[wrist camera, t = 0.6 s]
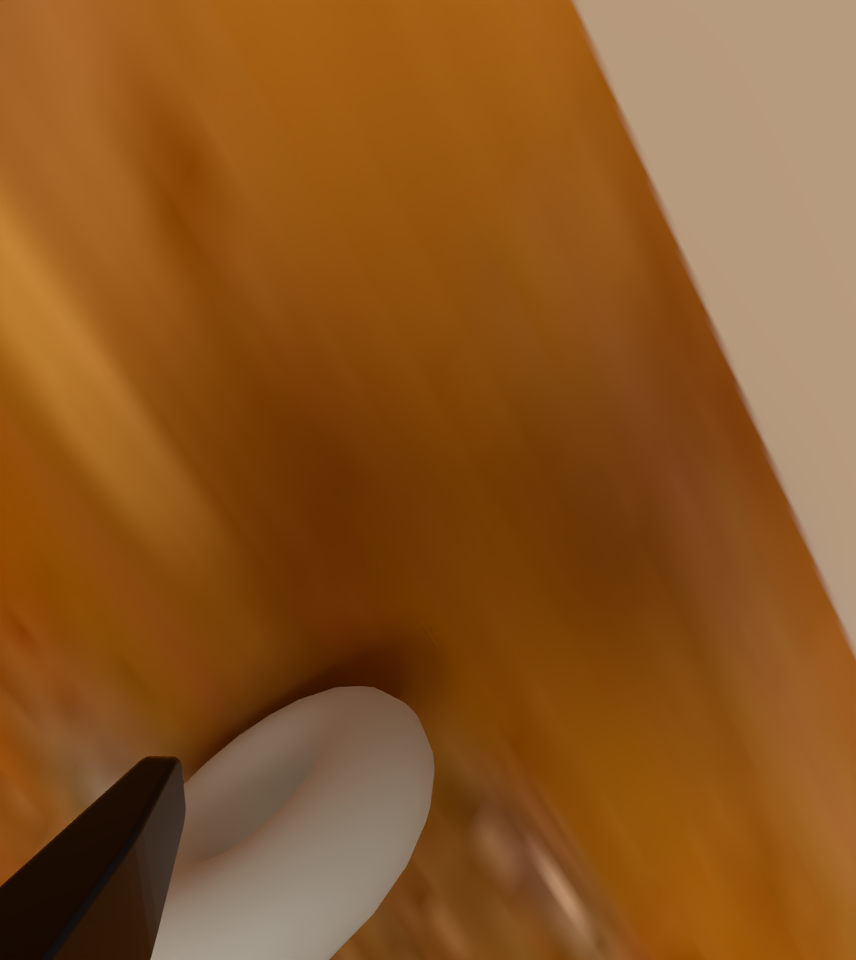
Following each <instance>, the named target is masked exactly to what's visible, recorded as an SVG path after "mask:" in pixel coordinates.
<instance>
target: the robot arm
mask: <svg viewBox="0 0 856 960" xmlns="http://www.w3.org/2000/svg"><path fill="white" fill-rule="evenodd" d="M185 814H186V803H185V793H184V784H183V774H182V766H181V763H180V760H179V759H178V758H176V757H166V756H148V757H145V758H144V759H142V760H140V761H139V762H138V763H137V764H136V765H135V766H134V767H133V768H131V769H130V770H129V771H128V772H127V773H126V774H125V775H124V776H123V777H121V778H120V779H119V780H118V781H117V782H116V783H115V784H114V785H113V786H112V787H110V788H109V789H108V790H107V791H106V792H105V793H104V794H103V795H102V796H100V797H99V798H98V799H97V800H96V801H95V802H94V803H93V804H92V805H90V806H89V807H88V808H87V809H86V810H85V811H84V812H83V813H82V814H80V815H79V816H78V817H77V818H76V819H75V820H74V821H73V822H72V823H70V824H69V825H68V826H67V827H66V828H65V829H64V830H63V831H62V832H61V833H59V834H58V835H57V836H56V837H55V838H54V839H53V840H52V841H51V842H49V843H48V844H47V845H46V846H45V847H44V848H43V849H42V850H41V851H39V852H38V853H37V854H36V855H35V856H34V857H33V858H32V859H31V860H29V861H28V862H27V863H26V864H25V865H24V866H23V867H22V868H21V869H19V870H18V871H17V872H16V873H15V874H14V875H13V876H12V877H11V878H10V879H8V880H7V881H6V882H5V883H4V884H3V885H2V886H1V887H0V960H151V957H152V953H153V949H154V945H155V941H156V937H157V934H158V930H159V925H160V921H161V917H162V913H163V909H164V905H165V901H166V897H167V893H168V889H169V884H170V880H171V876H172V872H173V868H174V864H175V860H176V856H177V852H178V847H179V843H180V839H181V835H182V831H183V827H184V822H185Z"/></svg>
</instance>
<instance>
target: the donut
mask: <svg viewBox="0 0 856 960" xmlns="http://www.w3.org/2000/svg"><path fill="white" fill-rule="evenodd" d="M434 772H435V769H434V757H433V752H432V749H431V747H430V744H429V742H428V739H427V737H426V734H425V731H424V729H423V727H422V725H421V722H420V720H419V718H418V716H417V714H416V713H415V712H414V711H413V710H412V709H411V708H410V707H409V706H408V705H407V704H406V703H404V702H402V701H401V700H399V699H397V698H395V697H393V696H391V695H389V694H387V693H385V692H383V691H381V690H379V689H377V688H375V687H367V686H348V687H335V688H332V689H329V690H326V691H323V692H320V693H317V694H314V695H311V696H308V697H305V698H302V699H299V700H297V701H295V702H293V703H291V704H289V705H287V706H286V707H284V708H282V709H280V710H278V711H276V712H274V713H272V714H270V715H269V716H267V717H266V718H264V719H263V720H261V721H260V722H258V723H257V724H255V725H254V726H252V727H251V728H249V729H248V730H246V731H245V732H243V733H242V734H240V735H239V736H238V737H237V738H235V739H234V740H233V741H232V742H230V743H229V744H228V745H227V746H226V747H224V748H223V749H222V750H221V751H219V752H218V753H217V754H216V755H215V756H213V757H212V758H211V759H210V760H208V761H207V762H206V763H205V764H204V765H203V766H202V767H201V768H200V769H199V770H198V771H197V772H196V773H195V774H194V775H193V776H192V777H191V778H190V779H189V780H188V781H187V782H186V783H185V784H184V793H185V803H186V814H185V822H184V827H183V831H182V835H181V839H180V843H179V847H178V852H177V856H176V860H175V864H174V868H173V872H172V876H171V880H170V884H169V889H168V893H167V897H166V901H165V905H164V909H163V913H162V917H161V921H160V925H159V930H158V934H157V937H156V941H155V945H154V949H153V953H152V957H151V960H329V959H330V958H331V957H332V956H333V955H334V954H335V953H336V952H337V951H338V950H339V949H340V948H341V947H342V946H343V945H344V944H345V943H346V942H347V941H348V939H349V938H350V937H351V936H352V935H353V934H354V933H355V932H356V931H357V930H358V929H359V928H360V927H361V926H362V925H363V924H364V923H365V922H366V921H367V920H368V919H369V918H370V917H371V916H372V915H373V914H374V912H375V911H376V909H377V908H378V907H379V905H380V904H381V902H382V901H383V899H384V898H385V896H386V895H387V894H388V892H389V891H390V889H391V888H392V886H393V885H394V883H395V882H396V880H397V879H398V878H399V876H400V875H401V873H402V872H403V870H404V869H405V867H406V866H407V864H408V862H409V860H410V857H411V855H412V853H413V850H414V848H415V846H416V843H417V841H418V839H419V836H420V834H421V832H422V829H423V827H424V825H425V822H426V820H427V816H428V813H429V809H430V805H431V796H432V788H433V780H434Z"/></svg>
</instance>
